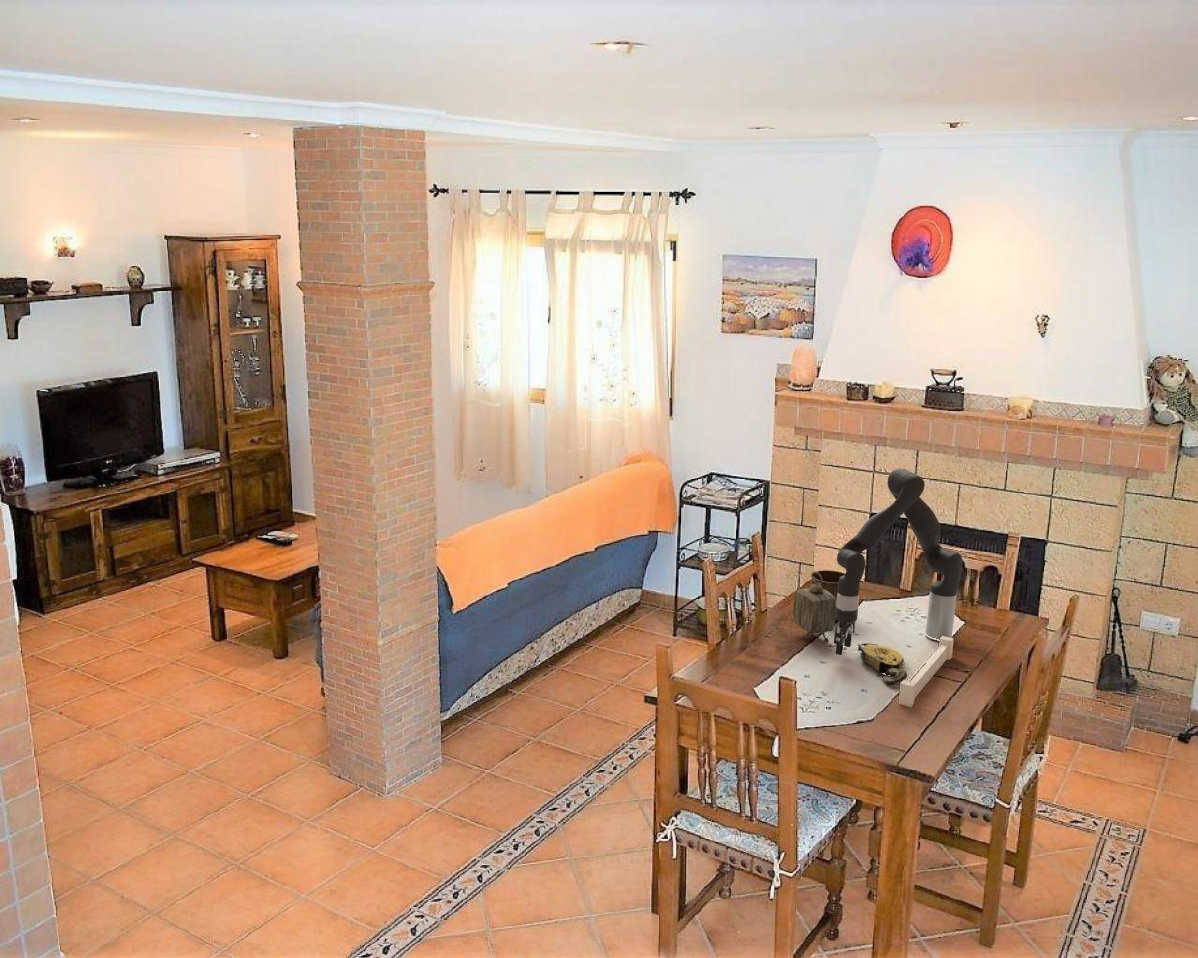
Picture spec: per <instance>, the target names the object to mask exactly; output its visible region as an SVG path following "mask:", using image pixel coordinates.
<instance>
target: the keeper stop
mask: <svg viewBox="0 0 1198 958" xmlns="http://www.w3.org/2000/svg"><path fill="white" fill-rule="evenodd" d="M954 641H955V638H954V637H952V638H950V637H945V636H942V637H941V638H940V641H938V642H939V644H938V649H937V650H936V651H935V652H934V653H933V655H932V656H931V657H930V658H929V659H928V660H927V662H926V663H925V664H924V665H923V666H922V667H921V669H920V670H919V671H918V672H917V673H916V674H915V675H914V677H912V679H911V680H910V681H909V680H906V679H905V680H903V681H902V682H901V683H899V686H900V687H899V695H898V705H902V706H905V707H909V708H912V707H913V706H914V705H915V698H916V697H917V696H918V695H919V694H920V692H921V691H922V690H924V689H923V688H925V686H926V685H927V684H928V682H929V681H930V680H931V679H932V677H934V675H935V674H936V673H937V671H939V669H940V668H941V667H942V666H943V664H944V663H945V662H946V661H947V660H948V661H951V659H952V658H953V649H954Z"/></svg>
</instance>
